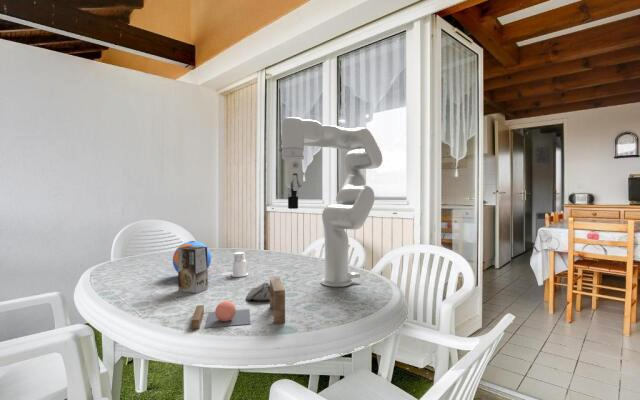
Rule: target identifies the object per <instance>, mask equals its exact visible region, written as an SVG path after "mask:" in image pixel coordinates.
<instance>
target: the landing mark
mask: <svg viewBox="0 0 640 400" xmlns="http://www.w3.org/2000/svg"><path fill="white" fill-rule="evenodd" d="M250 314H251V313H250V309H249V308H248V309H236V313H235V316H234V317H233V318H232V319H231V320H230V321H227V322H222V321H220V320H219V319H218V318H217V317H216V314H215V311H209V312H208V316H207V319H206V323H205V327H204V328H205V329H211V328H221V327H224V328H225V327H236V326H246V325H247V326H249V325H251V315H250Z"/></svg>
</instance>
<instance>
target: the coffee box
mask: <svg viewBox="0 0 640 400" xmlns="http://www.w3.org/2000/svg"><path fill="white" fill-rule="evenodd" d="M177 248H178V247H177ZM207 248H208V246H206V247H201V246H185V247H182V248H178V272H177V276H178V277H177V281H178V284H177V285H178V292H186V293H192V294H198V293H201V292H204V291H207V290H208V289H209V286H208V285H209V281H208V280H209V279H208V278H209V277H208V276H209V275H208V274H209V273H208V269H209V267H208V268H207Z"/></svg>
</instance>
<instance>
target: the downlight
mask: <svg viewBox="0 0 640 400" xmlns="http://www.w3.org/2000/svg"><path fill="white" fill-rule="evenodd" d="M245 258H246V257H245V251H243V252H241V251H239V252H238V251H237V252H234V253H233V260H232V274H231V276H232V277H234V278H239V277H240V278H241V277H246V276H249V273H248V271H247V270H248V264H247V260H246V259H245Z"/></svg>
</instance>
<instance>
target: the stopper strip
mask: <svg viewBox="0 0 640 400" xmlns="http://www.w3.org/2000/svg"><path fill="white" fill-rule="evenodd" d="M204 314H205V304H202V305H201V304H200V305H196V306H195V309H194V312H193V315H192V318H191V320H190V321H191V325H190V326H191V330H198V329H200V327H201V324H202V320H203V318H204Z"/></svg>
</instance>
